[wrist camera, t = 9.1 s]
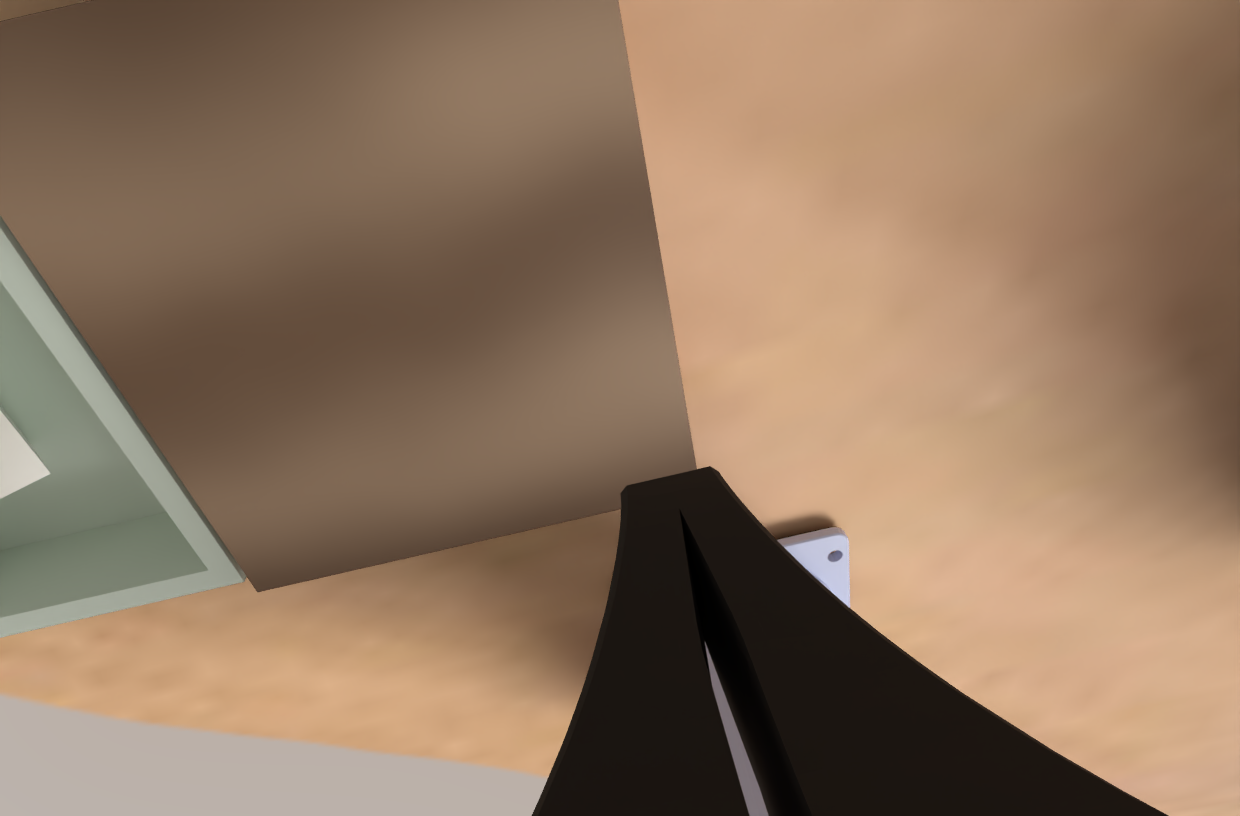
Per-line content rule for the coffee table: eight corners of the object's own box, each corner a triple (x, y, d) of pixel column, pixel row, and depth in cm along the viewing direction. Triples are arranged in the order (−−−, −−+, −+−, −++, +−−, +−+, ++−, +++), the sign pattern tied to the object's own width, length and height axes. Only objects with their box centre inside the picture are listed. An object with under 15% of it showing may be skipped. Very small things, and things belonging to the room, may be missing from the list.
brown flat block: (670, 405, 20) (700, 490, 17) (301, 489, 20) (257, 592, 17) (579, -94, 14) (598, -116, 11) (39, 30, 14) (-115, 47, 11)
